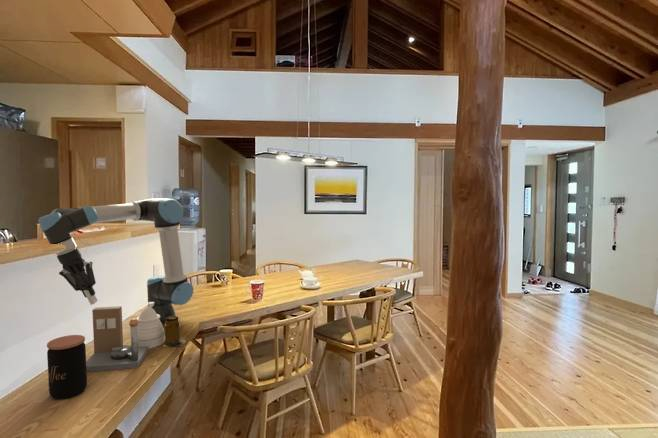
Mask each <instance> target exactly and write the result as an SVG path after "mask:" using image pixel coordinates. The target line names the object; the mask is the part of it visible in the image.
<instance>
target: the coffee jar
mask: <svg viewBox="0 0 658 438" xmlns="http://www.w3.org/2000/svg"><path fill="white" fill-rule="evenodd" d="M85 341H86V337H85V335H82V334H71V335H70V334H69V335H65V336H59V337H56V338H53V339H51V340H50V341H48V342H47V344H46V348H47V351H46V353H47V354H46V356H47V358H46V359H47V376H48V392H49V393H48V394H49V395H50V397H51V398H52V399H54V400H58V401H61V400H68V399H71V398H74V397H77V396H79V395H81V394H82V393H83V392H85V390H86V388H87V386H88V375H87V374H88V372H87V369H86V361H87V354H86V353H87V350H86V349H87V348H86V343H85Z"/></svg>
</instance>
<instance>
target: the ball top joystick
mask: <svg viewBox="0 0 658 438" xmlns="http://www.w3.org/2000/svg"><path fill="white" fill-rule="evenodd" d="M128 323H129V324H128V325H129V326H130V345H129V344H128V345H127V344H125V345H124V344H123V346H119V347H113V348H112V350H111V359H114V360H120V359H125V358H130V359H132V361H136V360H138V331H137V325H138V320H137V319H136V318H132V319H130V320H129V322H128Z"/></svg>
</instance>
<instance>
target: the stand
mask: <svg viewBox="0 0 658 438" xmlns="http://www.w3.org/2000/svg"><path fill="white" fill-rule="evenodd" d="M92 331H93V333H92V334H93V354H92V355H90V357H89V358H88V359H86V369H87V373H88V372H89V373H90V372H102V371H112V370H124V369H125V370H126V369H137V368H140V366H141V364H142V362H143V361H144V359H145V358H146V356H147V354H148V353H149V351H150V350H149V349H150V348H149V346H144V347H138V360H136V361H132V359H130V358H125V359H120V360H114V359H111V350H112V348H113V347H119V346H124V336H123V335H124V334H123V309H122V306H120V305H119V306H117V305H116V306H104V307H94V308H93V309H92Z"/></svg>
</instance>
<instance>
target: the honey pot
mask: <svg viewBox="0 0 658 438" xmlns="http://www.w3.org/2000/svg"><path fill="white" fill-rule="evenodd" d="M148 305H149V307H148ZM153 306H154V302H149V303H148V302H147V306H146V307H144V308H143V309H142V311H140V313H139V315H138V316H137V317H136V318H135V319H137V320H138V325H137V331H138V347H144V346H149V349H151V348H152V347H153V348H157V347H158V345H159V346H161V345H163V344H164V343H165V327H163V323H161V322H160V320H159V319H160V315H159V314H156V312H155V311H154V309H153V308H151V307H153ZM163 342H164V343H163ZM162 343H163V344H162ZM156 346H157V347H156Z"/></svg>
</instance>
